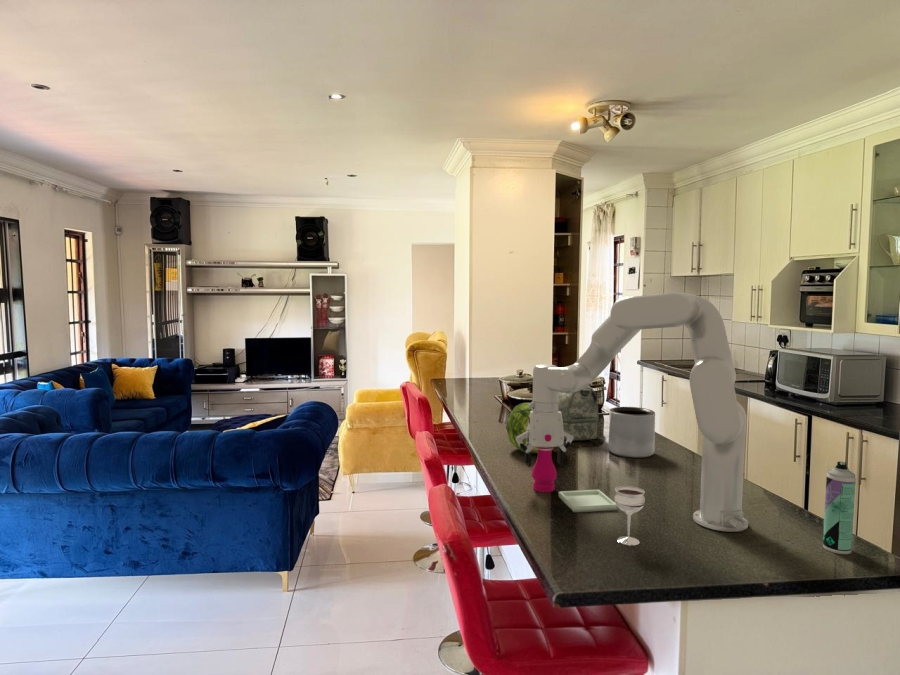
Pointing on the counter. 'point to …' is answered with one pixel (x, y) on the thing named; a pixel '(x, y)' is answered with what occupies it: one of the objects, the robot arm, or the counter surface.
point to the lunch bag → (579, 413)
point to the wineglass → (629, 507)
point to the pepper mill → (544, 469)
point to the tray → (587, 500)
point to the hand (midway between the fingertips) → (544, 464)
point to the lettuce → (519, 425)
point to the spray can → (839, 509)
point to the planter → (631, 432)
